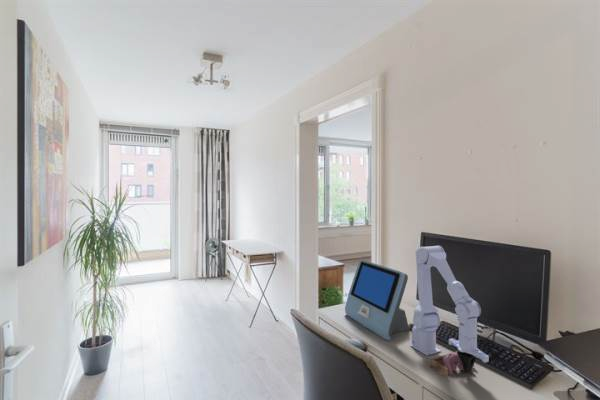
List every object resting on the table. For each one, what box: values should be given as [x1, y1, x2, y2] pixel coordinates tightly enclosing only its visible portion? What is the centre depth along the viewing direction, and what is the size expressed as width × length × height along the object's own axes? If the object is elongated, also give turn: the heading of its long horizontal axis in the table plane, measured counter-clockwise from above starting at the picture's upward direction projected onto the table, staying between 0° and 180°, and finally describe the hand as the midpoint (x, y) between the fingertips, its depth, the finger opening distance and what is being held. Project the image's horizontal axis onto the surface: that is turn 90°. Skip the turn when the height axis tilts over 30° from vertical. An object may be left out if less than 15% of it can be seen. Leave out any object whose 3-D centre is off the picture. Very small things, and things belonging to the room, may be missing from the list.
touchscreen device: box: [344, 259, 410, 341], centre depth 160 cm, size 35×20×30 cm, turn 24°
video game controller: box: [443, 352, 475, 376], centre depth 118 cm, size 10×5×7 cm, turn 96°
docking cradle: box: [429, 350, 475, 378], centre depth 119 cm, size 7×15×3 cm, turn 115°
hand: (467, 372), depth 114 cm, fingers closed
